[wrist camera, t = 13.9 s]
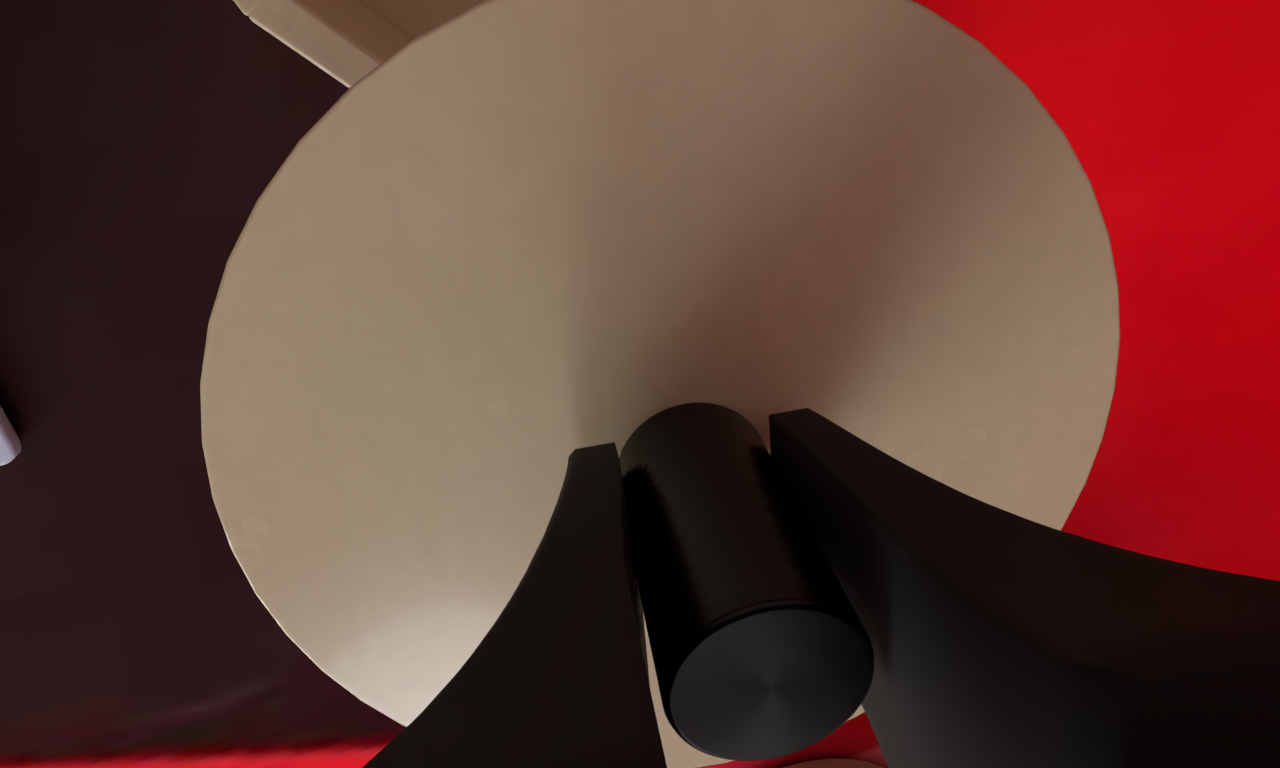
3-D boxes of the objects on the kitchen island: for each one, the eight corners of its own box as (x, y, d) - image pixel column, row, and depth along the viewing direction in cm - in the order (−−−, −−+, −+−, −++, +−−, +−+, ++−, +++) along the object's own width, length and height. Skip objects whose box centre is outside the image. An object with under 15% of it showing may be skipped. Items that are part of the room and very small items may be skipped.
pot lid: (370, 789, 16) (308, 1137, 11) (49, 37, 10) (-428, 89, 5) (1030, 654, 17) (1236, 920, 12) (1145, -111, 11) (1680, -193, 6)
